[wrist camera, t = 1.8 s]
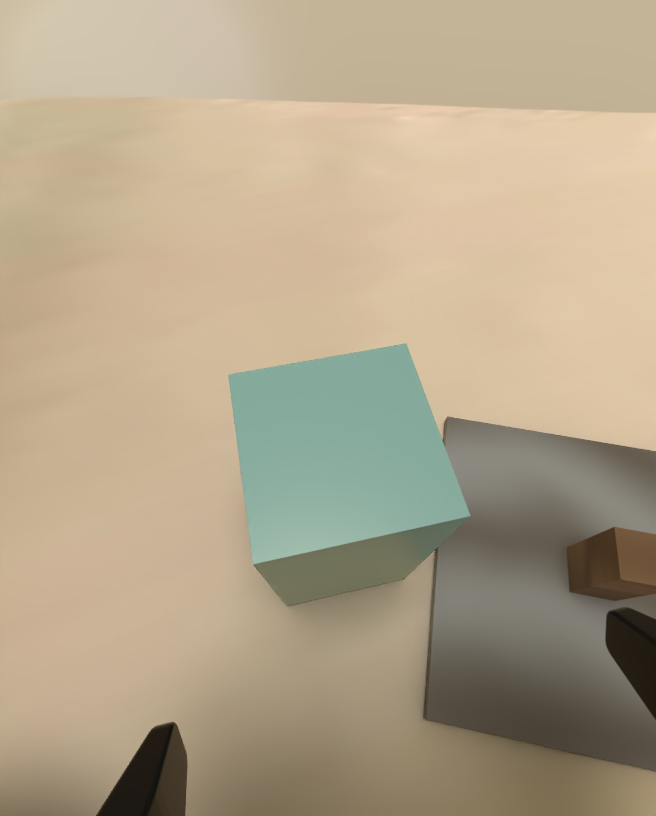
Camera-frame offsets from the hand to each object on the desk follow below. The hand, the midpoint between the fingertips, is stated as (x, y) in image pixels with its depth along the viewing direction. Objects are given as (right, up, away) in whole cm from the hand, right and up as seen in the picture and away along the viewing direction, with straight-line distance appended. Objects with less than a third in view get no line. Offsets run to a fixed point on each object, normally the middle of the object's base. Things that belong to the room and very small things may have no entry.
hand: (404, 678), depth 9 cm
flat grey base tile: (+11, -3, +12) cm, 16 cm away
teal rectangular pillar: (-1, -1, +13) cm, 13 cm away
